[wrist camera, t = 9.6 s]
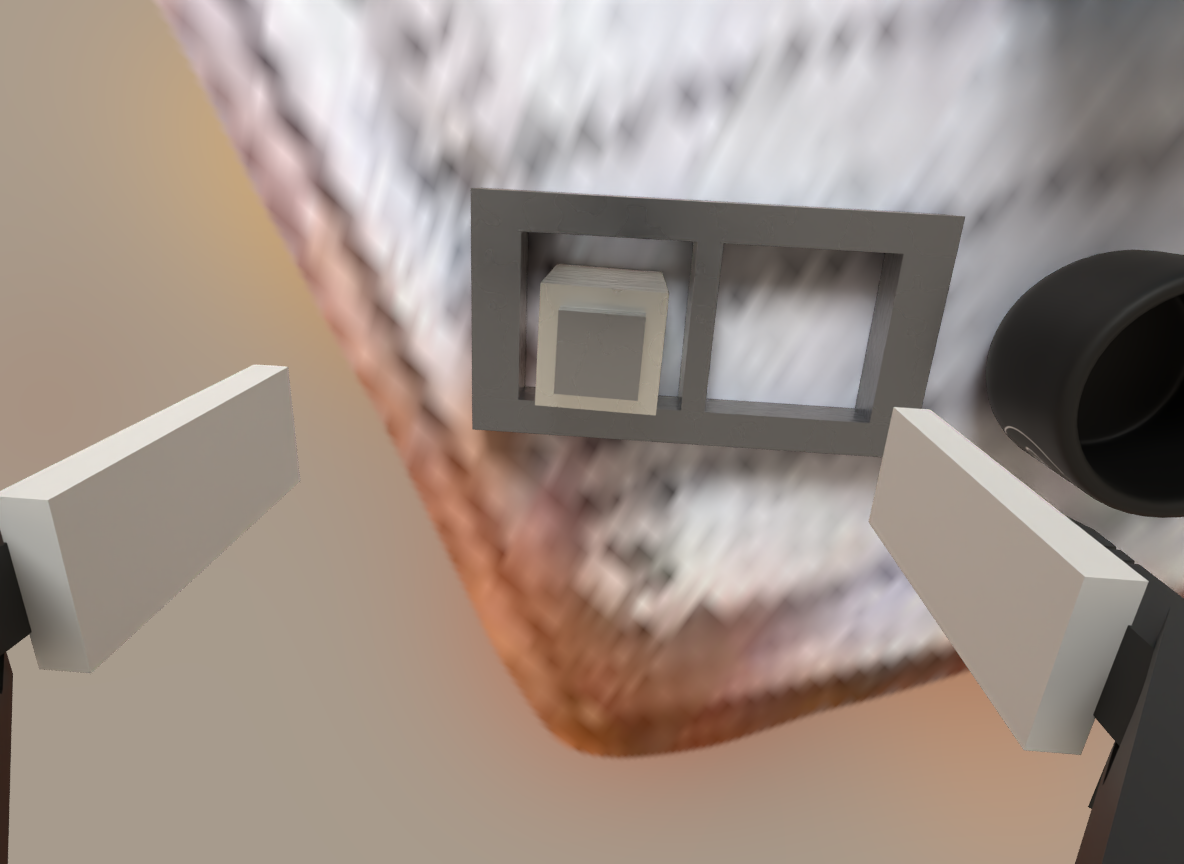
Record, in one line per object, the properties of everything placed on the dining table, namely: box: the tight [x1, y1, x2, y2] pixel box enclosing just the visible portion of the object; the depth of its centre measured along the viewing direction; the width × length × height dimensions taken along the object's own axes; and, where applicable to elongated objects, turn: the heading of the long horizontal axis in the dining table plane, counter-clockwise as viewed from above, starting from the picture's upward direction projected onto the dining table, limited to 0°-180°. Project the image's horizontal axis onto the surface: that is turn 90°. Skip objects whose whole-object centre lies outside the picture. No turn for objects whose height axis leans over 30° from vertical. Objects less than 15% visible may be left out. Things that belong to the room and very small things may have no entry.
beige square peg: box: [535, 264, 669, 415], centre depth 27 cm, size 4×4×7 cm
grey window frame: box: [471, 188, 965, 457], centre depth 29 cm, size 10×19×2 cm, turn 87°
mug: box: [986, 250, 1184, 518], centre depth 26 cm, size 12×9×7 cm
